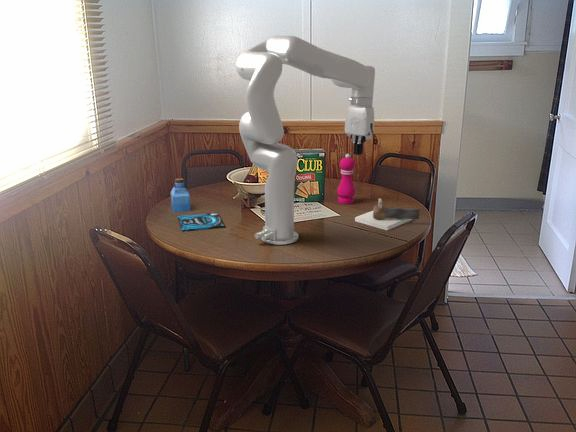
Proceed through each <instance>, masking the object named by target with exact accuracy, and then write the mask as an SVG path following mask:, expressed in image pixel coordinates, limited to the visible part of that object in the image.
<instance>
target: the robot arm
mask: <svg viewBox="0 0 576 432" xmlns="http://www.w3.org/2000/svg"><path fill="white" fill-rule="evenodd" d="M283 65H287V66H290V67H292V68H294V69H297V70H300V71H303V72H305V73H306V74H309V75H310V76H314V77H318V78H322V79H329V80H331V81H332V83H333V85H335V86H337V87H339V88H345V89H351V95H350V96H351V97H349V99H348V101H349V102H350V105H348V107H347V109H346V115H345V121H344V132H345V134H346V136H347V137H349V138H351V140H352V141H351V142H352V143H353V151H352V152H353V155H356V156H360V155H362V154H363V151H364V150H363V149H364V144H365V143H366V142H367V141H369V140H373V134H374V131H375V110H374V107H373V102H374V90H375V78H376V77H375V76H376V69H375V67H374V66H372V65H366V64H362V63H360V62H359V61H357V60H355V59H352V58H349V57H346V56H343V55H340V54H337V53H334V52H331V51H330V50H329V51H328V50H325V49H323V48H321V47H319V46H317V45H315V44H312V43H310V42H309V41H306V40H305V39H302V38H301V37H298V36H295V35H274V36H271V37H268V38H267V39H264V40H263V41H261V42H259V43H257V44H255V45H254V46H252V47H251V48H248V49H245V51H243V52H242V53H241V54H240V55H238V57H237V60H236V63H235V69H236V72H237V74H238V75H239V77H241V78H242V79H244V80H246V81H249V83H248V86H247V89H246V91H245V105H246V108H247V110H248V111H246V112H244V113H243V114H242V115H241V117H240V120H239V124H238V126H239V127H238V130H239V131H238V132H239V134H240V137H241V141H242V143H243V146H244V148H245V150H246V151H245V152H246V153H247V156H248V159H249V160H250V162H251V163H252V165H254V167H256V168H258V169H260V170H262V171H266V172H268V177H267V178H266V180H265V185H264V216H265V217H264V218H265V219H264V226H262V230H261V231H258V232H256V233H254V238H255V239H256V240H258V239H260V240H261V241H263V242H264V243H266V244H271V245H277V246H278V245H280V246H281V245H289V244H293V243H295V242H297V241H298V240H299V234H298V232H296V231H295V180H296V174H297V173H296V172H297V170H298V169H297V168H298V165H299V164H298V163H299V160H298V155H297V153H296V151H295V150H294V149H293V148H292V147H291V146H289V145H286V144H283V143H280V142H281V141H282V140H283V137H284V134H285V131H284V126H283V122H282V119H281V116H280V113H279V109H278V108H277V104H276V100H275V94H274V93H275V89H276V85H277V83H278V81H279V79H280V77H281V75H282V72H283Z"/></svg>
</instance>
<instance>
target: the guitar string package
mask: <svg viewBox="0 0 576 432" xmlns="http://www.w3.org/2000/svg"><path fill="white" fill-rule="evenodd" d="M177 220H178V222H179V226H180V230H181V232H192V231H203V230H204V231H205V230H213V229H225V228H226V224H225V223H224V221H223V219H222V217H221V216H220V212H209V213H200V214H199V213H198V214H187V215H178V216H177Z"/></svg>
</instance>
